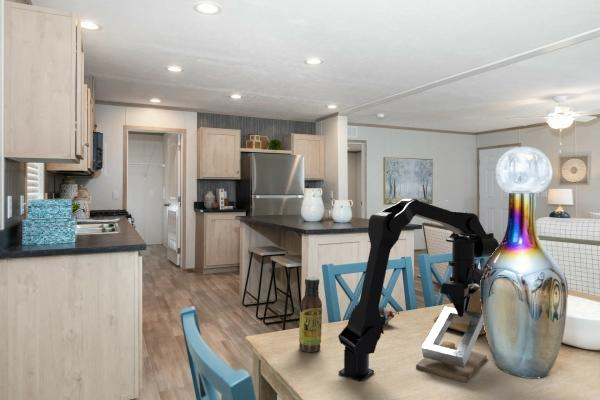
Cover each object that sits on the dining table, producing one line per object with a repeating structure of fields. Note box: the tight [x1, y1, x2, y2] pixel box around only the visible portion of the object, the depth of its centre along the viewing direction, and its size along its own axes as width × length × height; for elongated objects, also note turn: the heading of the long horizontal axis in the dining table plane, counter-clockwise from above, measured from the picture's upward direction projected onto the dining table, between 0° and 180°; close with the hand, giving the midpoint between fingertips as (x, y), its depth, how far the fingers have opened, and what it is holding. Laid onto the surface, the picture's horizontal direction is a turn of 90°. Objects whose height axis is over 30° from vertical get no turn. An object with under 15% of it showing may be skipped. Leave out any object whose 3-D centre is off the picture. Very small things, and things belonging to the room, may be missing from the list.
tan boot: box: [433, 284, 486, 336], centre depth 130 cm, size 15×12×15 cm
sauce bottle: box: [298, 276, 323, 353], centre depth 113 cm, size 6×6×20 cm
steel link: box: [421, 306, 485, 368], centre depth 105 cm, size 18×10×3 cm, turn 141°
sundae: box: [352, 304, 400, 326], centre depth 135 cm, size 7×7×15 cm
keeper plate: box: [415, 341, 488, 384], centre depth 104 cm, size 18×12×6 cm, turn 141°
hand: (462, 315), depth 110 cm, fingers closed on steel link, 2 cm apart
